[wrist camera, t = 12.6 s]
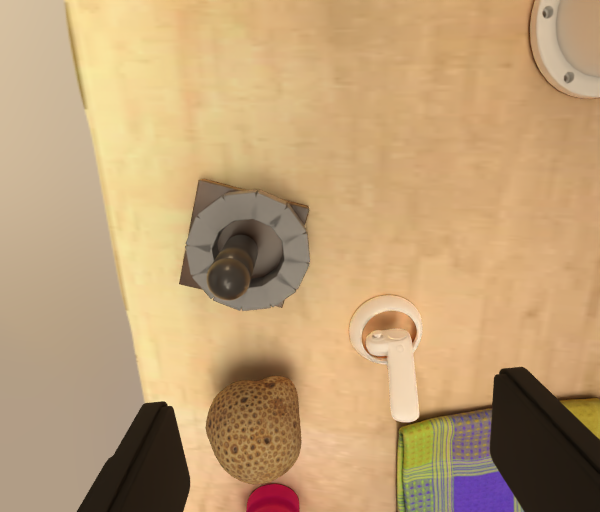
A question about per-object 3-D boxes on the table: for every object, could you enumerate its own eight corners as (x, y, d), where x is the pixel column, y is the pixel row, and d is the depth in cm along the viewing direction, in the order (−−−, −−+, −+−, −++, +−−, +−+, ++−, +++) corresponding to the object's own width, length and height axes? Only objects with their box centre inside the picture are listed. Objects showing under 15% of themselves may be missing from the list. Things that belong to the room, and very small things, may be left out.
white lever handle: (356, 437, 36) (346, 418, 30) (352, 324, 43) (344, 293, 37) (437, 438, 34) (442, 418, 29) (419, 321, 41) (420, 288, 36)
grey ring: (217, 170, 32) (212, 172, 29) (326, 218, 33) (329, 223, 31) (178, 274, 34) (170, 284, 32) (280, 315, 36) (280, 326, 33)
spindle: (202, 178, 33) (160, 192, 22) (308, 206, 34) (319, 233, 23) (183, 278, 36) (137, 336, 25) (282, 301, 37) (280, 366, 26)
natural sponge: (210, 419, 41) (186, 502, 31) (223, 348, 38) (202, 415, 29) (290, 431, 41) (292, 516, 32) (308, 363, 39) (315, 433, 29)
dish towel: (394, 411, 41) (402, 429, 38) (608, 391, 41) (630, 408, 39) (395, 528, 46) (402, 551, 43) (586, 509, 46) (605, 531, 44)
